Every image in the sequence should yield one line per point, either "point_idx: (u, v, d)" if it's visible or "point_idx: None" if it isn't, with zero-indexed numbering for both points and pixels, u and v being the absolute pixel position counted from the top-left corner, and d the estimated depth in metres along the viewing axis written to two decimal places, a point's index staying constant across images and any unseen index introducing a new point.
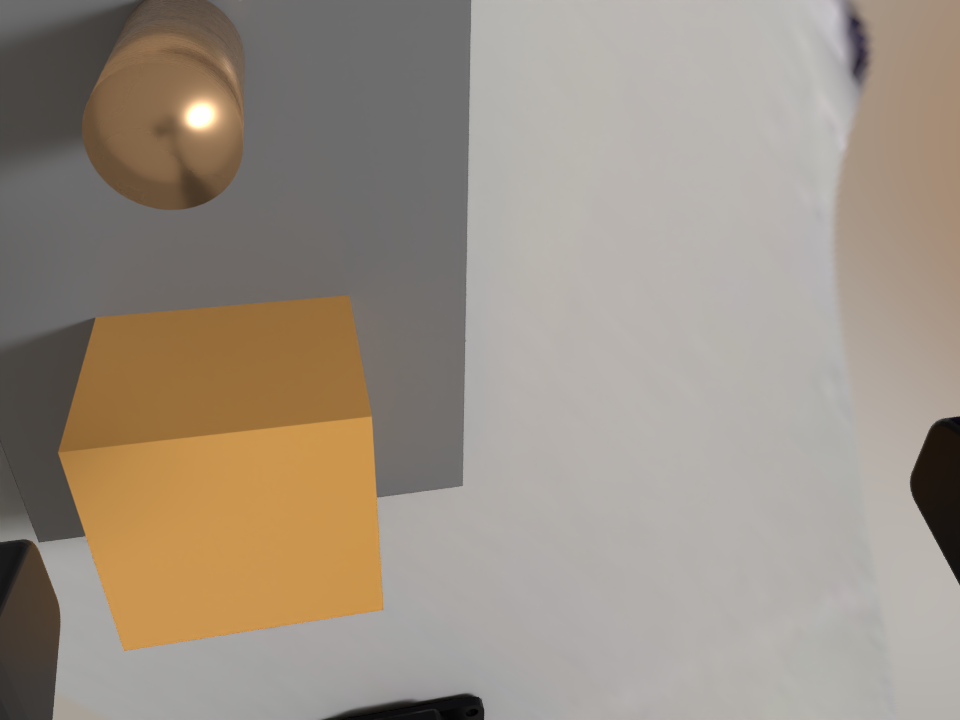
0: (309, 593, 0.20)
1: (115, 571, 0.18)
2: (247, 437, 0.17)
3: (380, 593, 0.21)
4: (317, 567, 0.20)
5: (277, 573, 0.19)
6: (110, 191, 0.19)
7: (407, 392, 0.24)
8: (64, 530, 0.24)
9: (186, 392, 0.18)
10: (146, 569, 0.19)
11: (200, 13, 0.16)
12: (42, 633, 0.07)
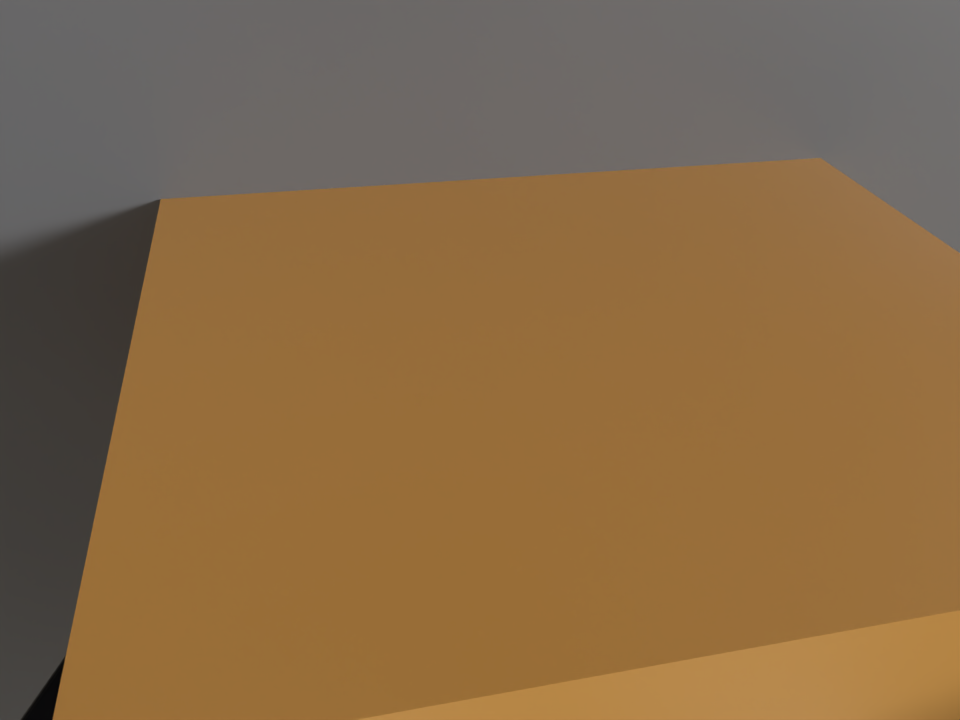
0: None
1: None
2: (903, 641, 0.04)
3: None
4: None
5: None
6: None
7: None
8: None
9: (545, 429, 0.05)
10: None
11: None
12: None
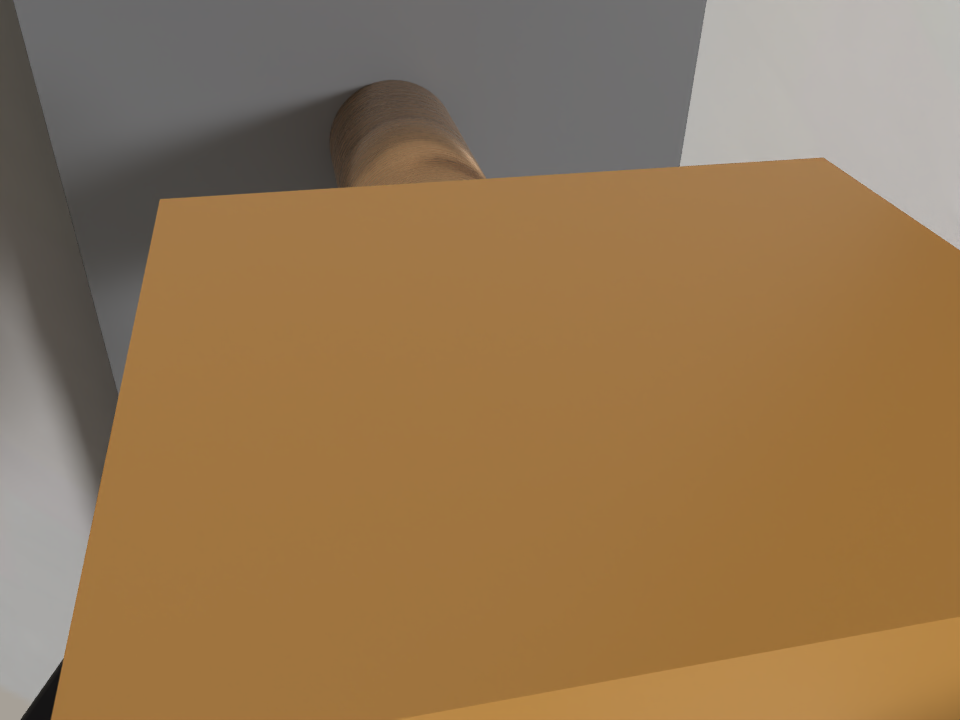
0: None
1: None
2: (910, 646, 0.04)
3: None
4: None
5: None
6: None
7: None
8: None
9: (547, 431, 0.05)
10: None
11: (432, 107, 0.15)
12: None
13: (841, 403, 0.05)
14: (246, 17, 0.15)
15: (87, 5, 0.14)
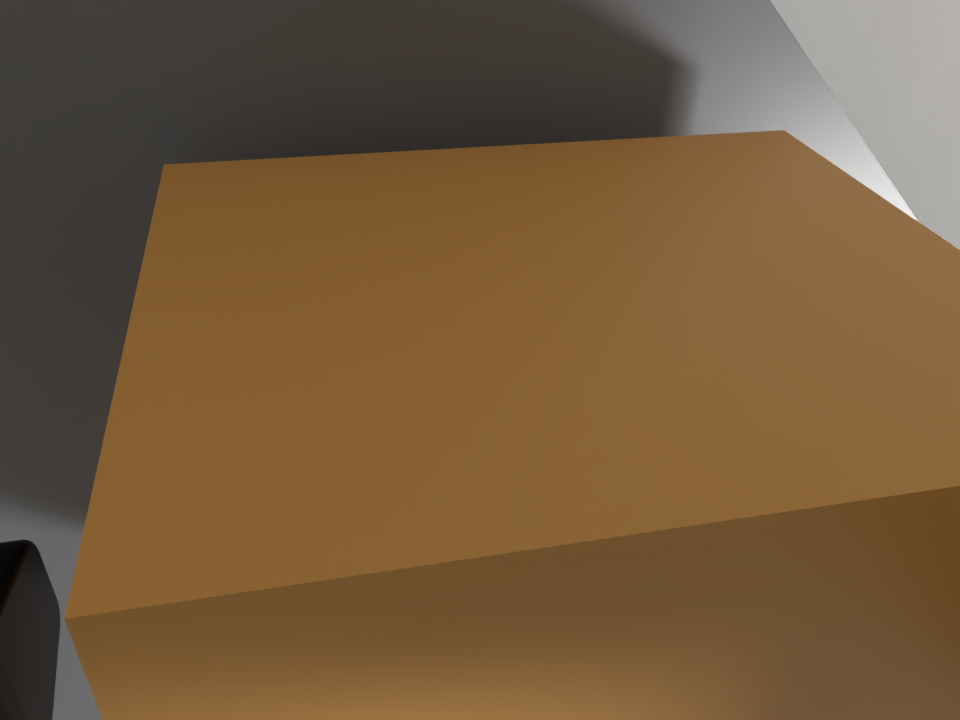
0: None
1: None
2: (817, 529, 0.04)
3: None
4: None
5: None
6: None
7: None
8: None
9: (509, 357, 0.05)
10: None
11: None
12: (42, 633, 0.07)
13: (775, 335, 0.05)
14: (477, 84, 0.09)
15: None
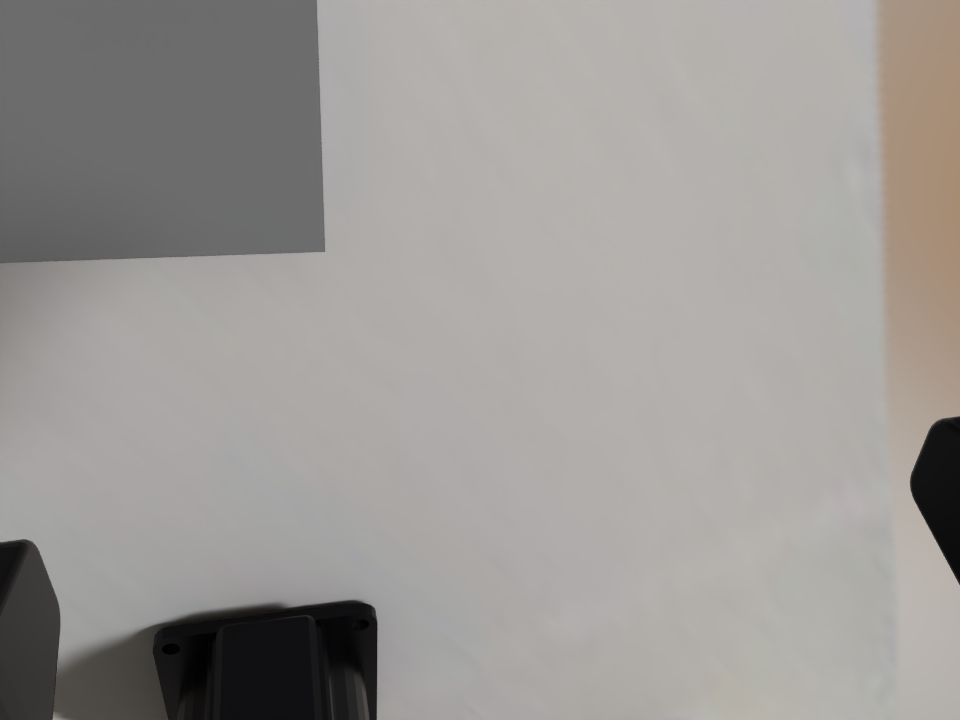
0: None
1: None
2: None
3: None
4: None
5: None
6: None
7: (226, 65, 0.15)
8: None
9: None
10: None
11: None
12: (42, 633, 0.07)
13: None
14: None
15: None
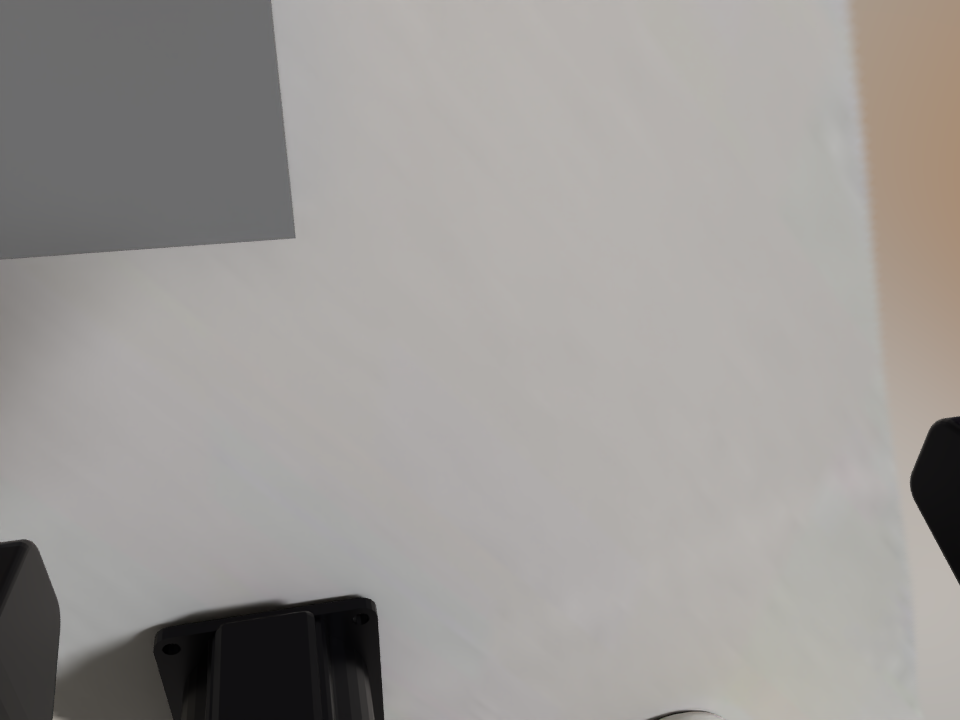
0: None
1: None
2: None
3: None
4: None
5: None
6: None
7: (183, 52, 0.15)
8: None
9: None
10: None
11: None
12: (42, 633, 0.07)
13: None
14: None
15: None
